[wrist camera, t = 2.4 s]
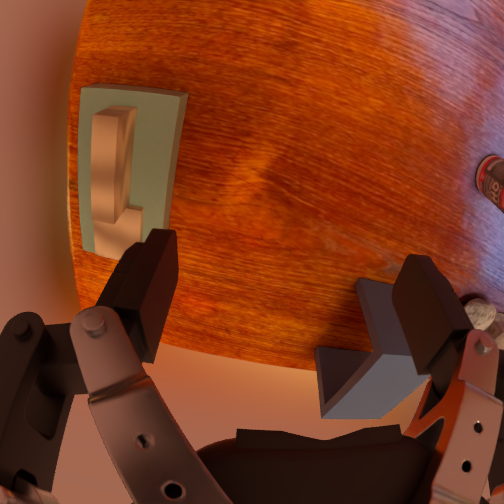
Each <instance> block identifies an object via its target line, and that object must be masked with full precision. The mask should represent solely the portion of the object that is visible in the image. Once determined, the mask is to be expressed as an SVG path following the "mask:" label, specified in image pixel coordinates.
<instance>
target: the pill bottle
mask: <svg viewBox="0 0 504 504" xmlns="http://www.w3.org/2000/svg"><path fill="white" fill-rule="evenodd" d="M476 182H477V186H478V189H479V190H480V192H481V193H482V194H484V195H485V196H486V197H487V198H488V199H489V200H490V201H491V202H492V203H493V204H495V205H496V206H497V207H498V208H499V209H500V210H501V211H502V212H503V213H504V159H502V158H501V157H499V156H496V155H492V156H489V157H487V158H486V159H484V160H483V162H482V163H481V164H480V166H479V168H478V171H477V176H476Z"/></svg>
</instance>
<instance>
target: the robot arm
mask: <svg viewBox="0 0 504 504" xmlns="http://www.w3.org/2000/svg"><path fill="white" fill-rule="evenodd" d="M178 272H179V267H178V252H177V236H176V231H175V230H171V229H159V228H152V230H151V231H150V233H149V235H148V237H147V238H146V240H145V242H135V243H134V244H133V245H132V246H130V247H129V248H128V249H126V250H125V252H124V253H123V255H122V257H121V259H120V260H119V264H117V266H116V267H115V269H114V273H112V275H111V276H110V278H109V280H108V282H107V284H106V286H105V288H104V289H103V291H102V293H101V295H100V297H99V299H98V301H97V303H96V305H95V306H92V307H89V308H86V309H84V310H82V311H81V312H79V313H78V314H77V315H76V316H75V318H74V319H73V320H72V322H71V323H65V324H54V325H45V324H44V322H43V320H42V318H41V317H40V316H39V315H38V314H36V313H33V312H23V313H20V314H17V315H16V316H14V317H13V318H11V319H10V320H9V321H8V322H7V324H6V325H5V327H4V329H3V331H2V333H1V335H0V504H59V502H58V500H57V499H56V498H55V497H54V496H53V495H52V494H51V491H52V485H53V480H54V474H55V469H56V465H57V460H58V456H59V451H60V446H61V443H62V439H63V435H64V431H65V427H66V423H67V419H68V415H69V412H70V409H71V405H72V402H73V398H74V395H75V394H89V397H90V398H88V405H89V408H90V411H91V414H92V416H93V419H94V421H95V424H96V426H97V429H98V431H99V433H100V436H101V438H102V440H103V443H104V445H105V447H106V449H107V451H108V454H109V456H110V458H111V460H112V462H113V464H114V466H115V468H116V470H117V472H118V474H119V476H120V478H121V480H122V482H123V484H124V486H125V488H126V489H127V491H128V493H129V495H130V497H131V498H132V500H133V503H132V504H504V350H501V349H499V348H498V345H497V343H496V341H495V340H494V339H493V337H492V336H491V335H489V334H488V333H487V332H485V331H483V330H481V329H475V328H474V326H473V324H472V322H471V320H470V318H469V317H468V315H467V313H466V311H465V309H464V307H463V305H462V304H461V302H460V301H459V298H458V296H457V295H456V293H455V292H454V289H453V288H452V286H451V284H450V282H449V281H448V279H447V278H446V277H445V276H444V275H443V274H441V273H440V272H439V271H438V269H437V267H436V266H435V264H434V263H433V261H432V259H431V258H430V257H429V256H425V255H417V254H409V255H408V256H407V258H406V260H405V262H404V264H403V266H402V269H401V271H400V273H399V275H398V277H397V280H396V282H395V284H394V286H393V289H392V303H393V306H394V308H395V311H396V314H397V316H398V319H399V322H400V324H401V327H402V330H403V333H404V335H405V338H406V341H407V344H408V347H409V350H410V353H411V356H412V359H413V362H414V365H415V368H416V371H417V374H418V376H419V375H429V374H431V377H432V379H431V380H430V381H429V382H428V383H427V385H426V388H425V391H424V393H423V396H422V398H421V401H420V403H419V406H418V408H417V410H416V413H415V415H414V417H413V420H412V422H411V424H410V426H409V427H408V429H407V430H406V431H405V432H404V434H403V435H402V434H401V430H400V425H399V424H397V425H389V426H380V427H371V428H364V429H361V430H358V431H355V432H352V433H349V434H346V435H343V436H340V437H337V438H334V439H330V440H318V439H314V438H309V437H304V436H300V435H296V434H292V433H288V432H284V431H269V430H268V431H267V430H249V429H237V432H236V438H232V439H226V440H222V441H218V442H215V443H213V444H210V445H207V446H205V447H203V448H201V449H199V450H197V451H195V450H194V449H193V447H192V446H191V444H190V443H189V441H188V440H187V438H186V437H185V435H184V433H183V432H182V430H181V429H180V427H179V425H178V424H177V422H176V420H175V419H174V417H173V416H172V414H171V412H170V411H169V409H168V407H167V405H166V404H165V402H164V400H163V398H162V397H161V395H160V393H159V391H158V390H157V388H156V386H155V384H154V382H153V381H152V379H151V378H150V376H148V375H147V374H146V372H145V370H144V368H143V366H142V362H146V363H152V364H153V363H154V360H155V356H156V353H157V349H158V346H159V342H160V339H161V335H162V332H163V328H164V325H165V322H166V318H167V315H168V312H169V308H170V305H171V302H172V299H173V295H174V292H175V289H176V286H177V281H178ZM487 477H488V481H489V488H490V496H491V498H489V499H486V500H485V499H484V498H483V497H482V492H483V489H484V487H485V484H486V480H487Z"/></svg>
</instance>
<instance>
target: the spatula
mask: <svg viewBox="0 0 504 504" xmlns="http://www.w3.org/2000/svg"><path fill="white" fill-rule="evenodd" d="M136 113H137V107H128V106H118V105H113V106H111V107H108V108H106V109H104V110H102V111H99V112H97V113H95V114H93V121H92V139H91V210H92V220H93V226H94V241H95V253H96V255H99V256H103V257H107V258H111V259H115V260H120V259H121V257H122V255H123V253H124V252H125V250H126V249H128V248H129V247H130V246H132V245H133V244H134V243H135V242H142V231H143V211H144V208H143V207H138V206H134V205H129V197H130V178H131V163H132V151H133V140H134V130H135V121H136Z"/></svg>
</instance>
